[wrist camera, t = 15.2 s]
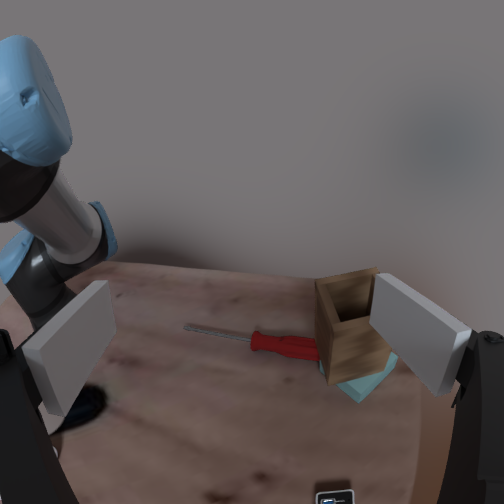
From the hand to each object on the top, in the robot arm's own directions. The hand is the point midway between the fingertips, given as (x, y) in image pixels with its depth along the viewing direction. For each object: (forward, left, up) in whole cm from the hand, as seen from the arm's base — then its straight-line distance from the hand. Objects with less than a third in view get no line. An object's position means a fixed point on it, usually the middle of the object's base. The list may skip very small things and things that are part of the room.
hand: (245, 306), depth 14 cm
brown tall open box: (-6, +15, -27) cm, 31 cm away
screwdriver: (-19, +7, -30) cm, 36 cm away
